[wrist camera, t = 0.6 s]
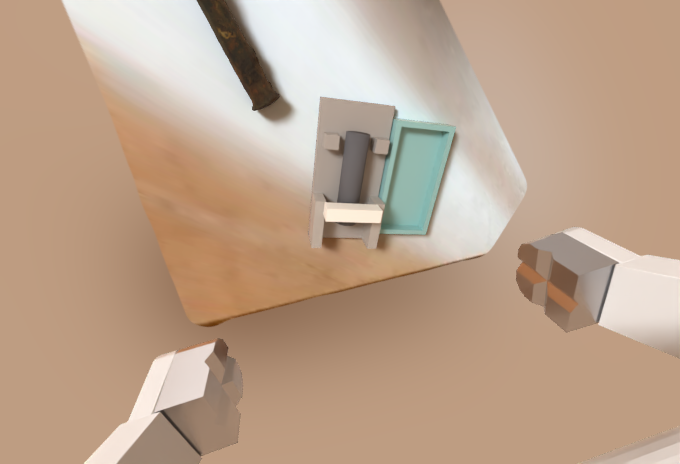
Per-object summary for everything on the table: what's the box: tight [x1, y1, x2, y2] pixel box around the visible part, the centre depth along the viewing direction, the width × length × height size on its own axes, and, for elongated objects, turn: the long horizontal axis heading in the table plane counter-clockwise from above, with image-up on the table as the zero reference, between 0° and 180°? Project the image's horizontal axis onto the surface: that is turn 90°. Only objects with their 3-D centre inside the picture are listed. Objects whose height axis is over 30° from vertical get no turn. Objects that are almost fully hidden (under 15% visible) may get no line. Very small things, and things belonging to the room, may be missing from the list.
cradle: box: [308, 97, 395, 248], centre depth 47 cm, size 22×11×5 cm, turn 173°
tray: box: [378, 118, 456, 235], centre depth 50 cm, size 19×10×3 cm, turn 173°
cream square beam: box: [323, 202, 383, 223], centre depth 45 cm, size 2×8×2 cm, turn 83°
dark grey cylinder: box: [336, 131, 370, 226], centre depth 46 cm, size 14×4×4 cm, turn 173°
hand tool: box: [197, 0, 280, 111], centre depth 36 cm, size 19×4×5 cm, turn 22°
